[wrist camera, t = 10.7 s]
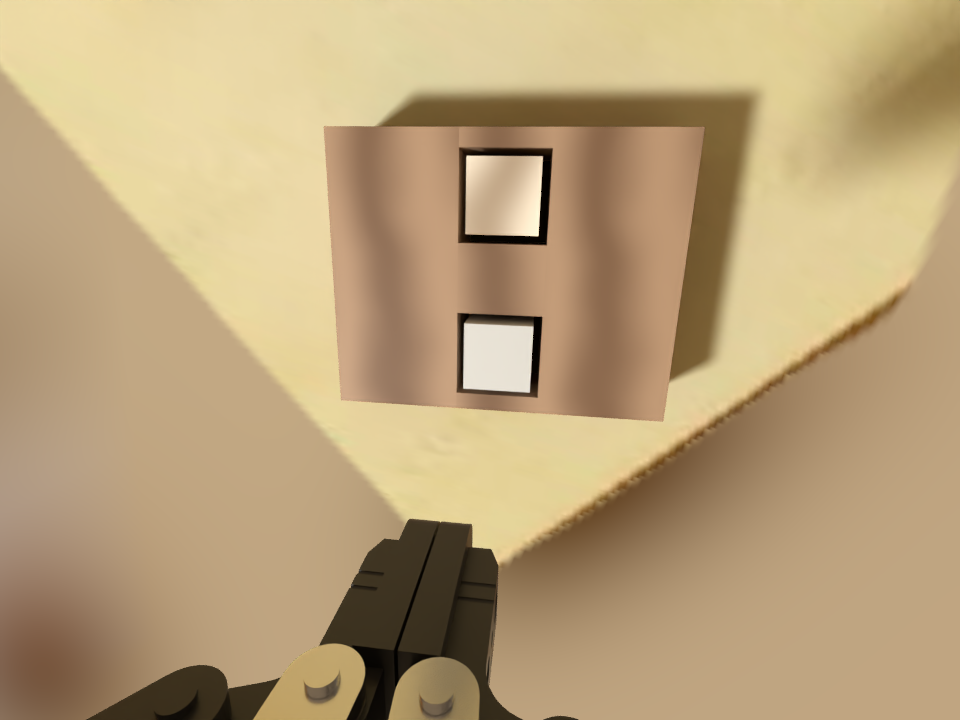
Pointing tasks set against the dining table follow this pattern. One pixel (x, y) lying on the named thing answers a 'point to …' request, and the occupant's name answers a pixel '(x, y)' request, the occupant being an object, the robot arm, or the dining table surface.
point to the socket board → (511, 264)
